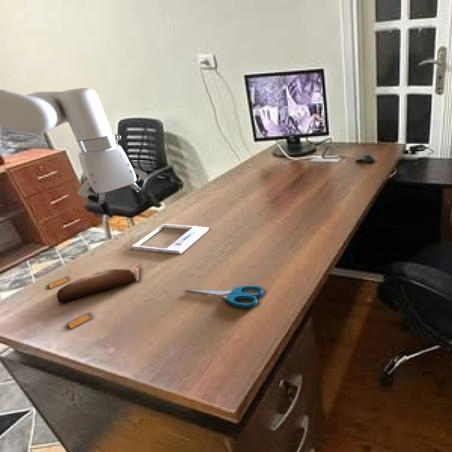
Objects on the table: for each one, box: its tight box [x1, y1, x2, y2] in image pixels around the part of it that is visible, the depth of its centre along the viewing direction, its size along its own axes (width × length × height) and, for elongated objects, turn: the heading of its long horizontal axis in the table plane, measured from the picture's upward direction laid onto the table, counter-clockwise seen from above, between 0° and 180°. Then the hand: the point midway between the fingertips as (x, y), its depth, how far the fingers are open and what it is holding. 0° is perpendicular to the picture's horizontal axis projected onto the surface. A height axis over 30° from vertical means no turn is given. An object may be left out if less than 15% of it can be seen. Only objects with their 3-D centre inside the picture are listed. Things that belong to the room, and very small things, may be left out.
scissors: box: [186, 285, 264, 309], centre depth 86 cm, size 7×1×20 cm
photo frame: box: [131, 223, 210, 254], centre depth 113 cm, size 15×1×18 cm
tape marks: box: [48, 277, 91, 330], centre depth 89 cm, size 4×25×1 cm, turn 46°
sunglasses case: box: [56, 267, 140, 304], centre depth 93 cm, size 18×7×7 cm
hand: (125, 209), depth 92 cm, fingers open, 6 cm apart
